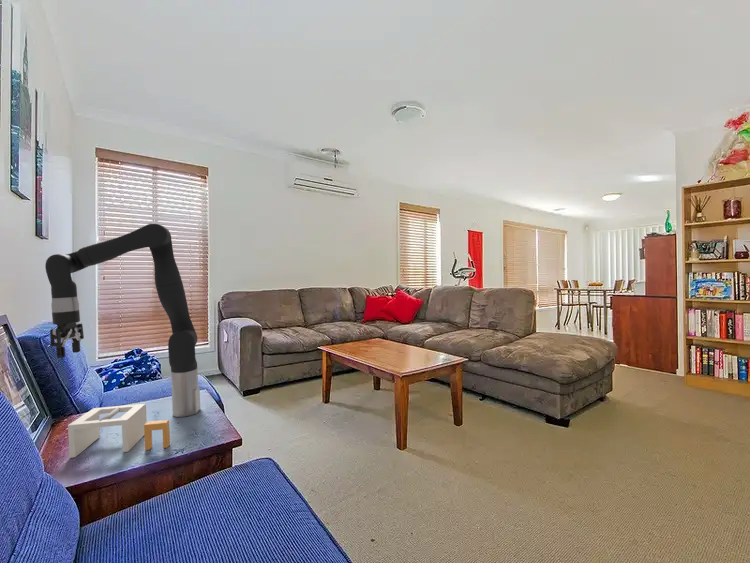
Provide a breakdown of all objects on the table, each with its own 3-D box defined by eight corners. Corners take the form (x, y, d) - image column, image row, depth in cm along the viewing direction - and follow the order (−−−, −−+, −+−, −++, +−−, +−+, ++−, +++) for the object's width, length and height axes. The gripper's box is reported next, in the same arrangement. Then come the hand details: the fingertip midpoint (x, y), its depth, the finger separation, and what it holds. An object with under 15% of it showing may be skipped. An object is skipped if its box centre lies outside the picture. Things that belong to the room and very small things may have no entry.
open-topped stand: (147, 431, 127) (145, 403, 127) (128, 451, 113) (126, 419, 113) (95, 437, 124) (93, 408, 123) (69, 457, 110) (67, 425, 110)
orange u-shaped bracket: (170, 444, 118) (169, 419, 117) (167, 447, 115) (166, 422, 115) (148, 446, 116) (147, 421, 116) (145, 449, 114) (144, 424, 114)
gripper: (64, 311, 124) (68, 358, 125) (89, 307, 138) (92, 349, 139) (39, 313, 123) (43, 360, 123) (66, 308, 137) (70, 351, 137)
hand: (69, 354), depth 131 cm, fingers open, 8 cm apart
